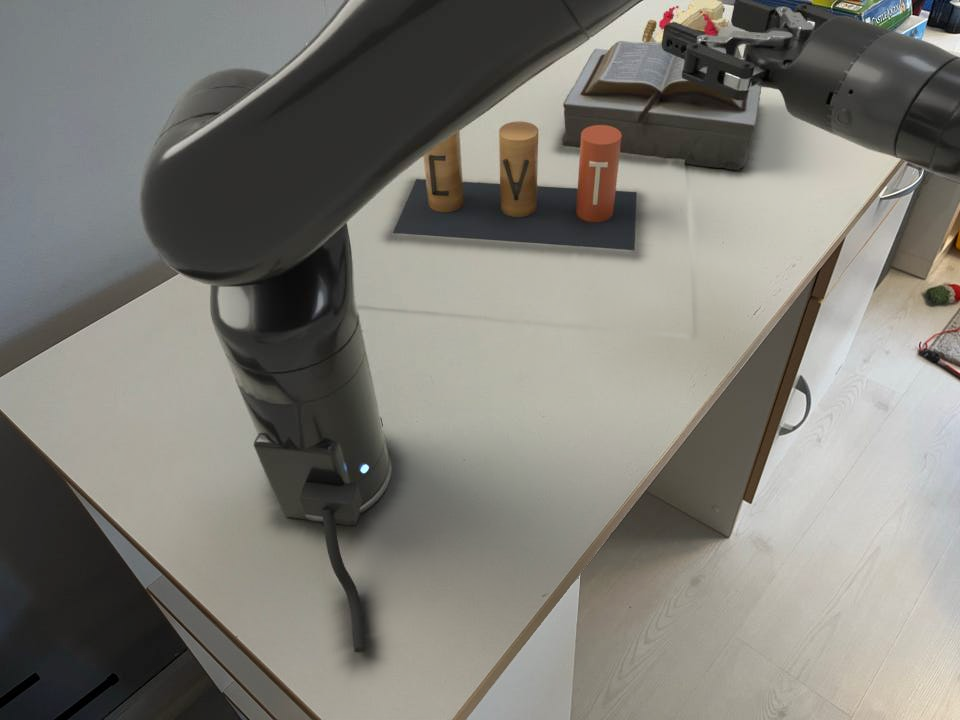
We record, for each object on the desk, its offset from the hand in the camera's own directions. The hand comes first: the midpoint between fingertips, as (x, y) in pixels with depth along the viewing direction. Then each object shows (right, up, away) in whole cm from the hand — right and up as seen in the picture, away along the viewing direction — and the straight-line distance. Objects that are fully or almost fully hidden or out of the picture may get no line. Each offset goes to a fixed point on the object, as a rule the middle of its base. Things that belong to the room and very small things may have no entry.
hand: (701, 22), depth 61 cm
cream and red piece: (+14, +23, +58) cm, 64 cm away
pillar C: (-23, -9, +27) cm, 37 cm away
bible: (+6, +4, +39) cm, 40 cm away
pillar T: (-5, -11, +24) cm, 27 cm away
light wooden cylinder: (-14, -10, +25) cm, 31 cm away
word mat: (-14, -11, +25) cm, 31 cm away
